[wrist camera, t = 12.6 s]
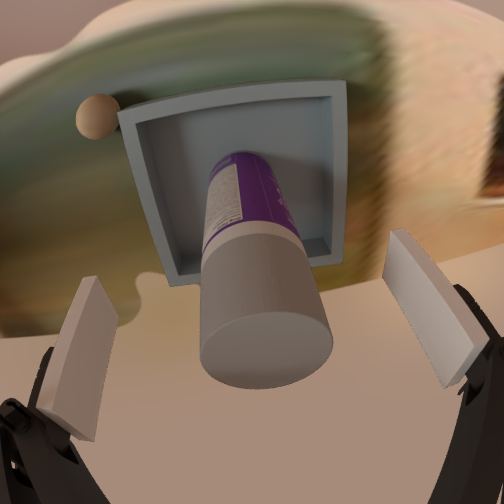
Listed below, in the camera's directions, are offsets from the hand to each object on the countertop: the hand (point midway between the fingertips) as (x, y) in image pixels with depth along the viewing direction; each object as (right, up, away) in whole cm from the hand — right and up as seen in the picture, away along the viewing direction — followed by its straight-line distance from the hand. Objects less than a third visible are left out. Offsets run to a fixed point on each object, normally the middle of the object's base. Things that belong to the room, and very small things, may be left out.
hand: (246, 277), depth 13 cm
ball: (-10, +11, +5) cm, 16 cm away
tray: (0, +7, +9) cm, 12 cm away
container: (-1, +6, +9) cm, 11 cm away
